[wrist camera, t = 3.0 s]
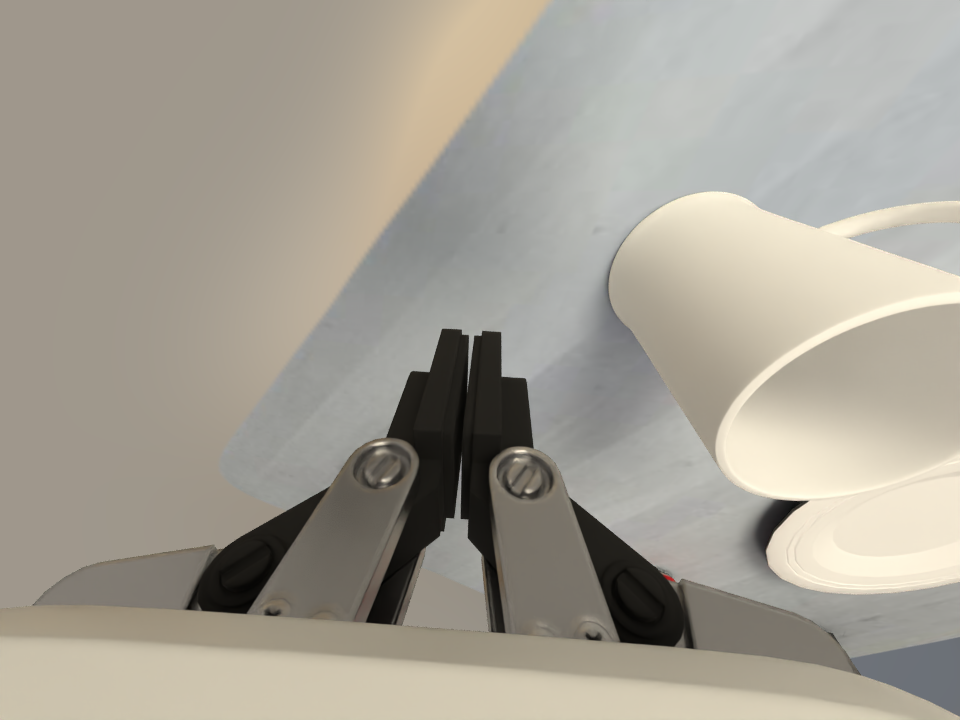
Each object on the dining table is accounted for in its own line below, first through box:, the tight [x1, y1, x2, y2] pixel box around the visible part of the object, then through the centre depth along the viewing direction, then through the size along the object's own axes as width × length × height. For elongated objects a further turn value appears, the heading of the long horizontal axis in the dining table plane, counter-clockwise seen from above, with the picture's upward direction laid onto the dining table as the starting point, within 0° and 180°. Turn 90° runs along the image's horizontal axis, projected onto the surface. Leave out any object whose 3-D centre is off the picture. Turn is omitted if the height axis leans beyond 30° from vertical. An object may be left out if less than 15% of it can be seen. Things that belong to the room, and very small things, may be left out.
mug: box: [609, 192, 960, 501], centre depth 14 cm, size 12×8×12 cm
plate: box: [765, 457, 960, 595], centre depth 31 cm, size 25×25×2 cm
